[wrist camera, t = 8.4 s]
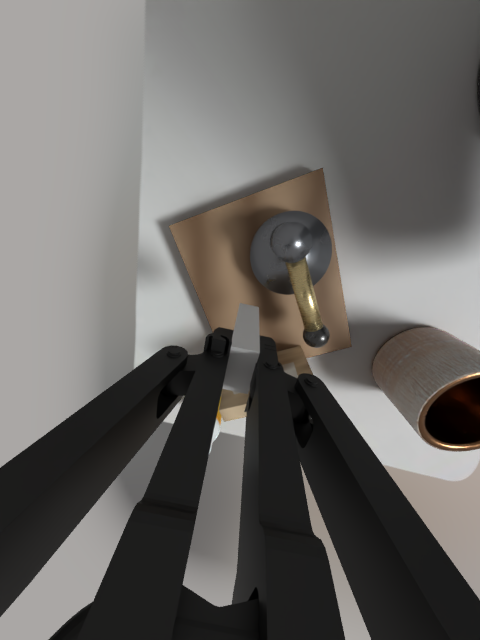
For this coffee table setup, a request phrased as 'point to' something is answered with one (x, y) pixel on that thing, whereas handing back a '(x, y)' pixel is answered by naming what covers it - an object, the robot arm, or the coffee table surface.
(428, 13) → the coffee table surface
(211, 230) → the stand
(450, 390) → the planter
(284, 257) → the ball knob lever
